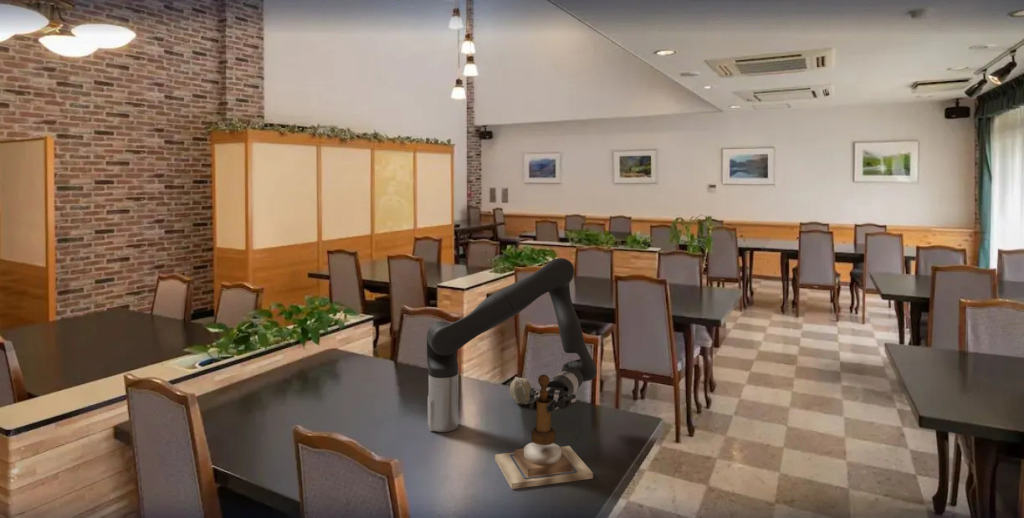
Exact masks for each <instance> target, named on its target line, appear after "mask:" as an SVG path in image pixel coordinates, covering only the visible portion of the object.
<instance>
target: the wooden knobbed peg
mask: <svg viewBox="0 0 1024 518" xmlns="http://www.w3.org/2000/svg"><path fill="white" fill-rule="evenodd" d="M550 380H551V379H550V377H549V375H547V374H540V375H539V376H538V378H537V382H538V384H539V386H540V390H541V391H540V390H539V391H540V397H541V398H538V399H537V408H536V415H535V416H536V419H535V420H536V421H535V423H536V424H535V425H536V426H535V427H534V428H533V429H532V430H531V437H530V439H531V441H532V442H534V443H536V444H539V445H549V444H552V443H554V444H555V442H556V439H557V438H556V436H557V432H556V430H555V429H553V427H552V412H550V413H547V404H548V403H550V402H551V400H550V399H549V398H547V396H548V391H547V390H546V388H547V386H548V384H549V381H550ZM532 442H531V443H532Z"/></svg>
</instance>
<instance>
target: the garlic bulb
mask: <svg viewBox="0 0 1024 518" xmlns="http://www.w3.org/2000/svg"><path fill="white" fill-rule="evenodd" d="M530 388H532V386H531V383H530V381H529V380H528V379H527V378H525V377H519V376H515V377H514V378H513V380H512V381H511V383H510V385H509V393H510V396H511V397H512V398H513V401H514V403H515V404H517V405H528V404H529V393H530ZM529 405H530V404H529Z"/></svg>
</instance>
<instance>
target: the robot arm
mask: <svg viewBox="0 0 1024 518" xmlns="http://www.w3.org/2000/svg"><path fill="white" fill-rule="evenodd" d="M574 275H575V267H574V265H573V263H572V262H571V261H570V260H569V259H566V258H563V257H558V258H553V259H551V260H549V262H548V263H546V264H545V265H544V266H542V267H541V268H539V269H538V270H536V271H535V272H534V273H531V274H530V275H528V276H526V277H524V278H522V279H520V280H518V281H516V282H514V283H511V284H510V285H508V286H505V287H503V288H502V289H500V290H498V291H495V292H494V293H492V294H491V295H489V296H488V297H485V299H483V301H481V302H480V303H479V304H478V305H477V306H476V307H475V308H473V310H472V311H471V312H469V314H467V315H466V316H464V317H462V318H460V319H458V320H456V321H454V322H452V323H450V322H448V321H444V320H439V321H436V322H434V323H432V325H430V327H429V328H428V330H427V333H426V362H427V363H426V364H427V368H428V370H427V371H428V395H427V426H428V429H429V431H430V432H438V433H447V432H451V431H452V432H453V431H454V430H456V429H458V427H459V364H458V360H457V351H458V350H460V349H461V348H462V347H464V346H465V345H466V344H468V343H469V342H470V341H472V340H474V339H475V338H476V337H478V336H480V335H481V334H484V333H485V332H488V331H489V330H491V329H492V328H494V327H496V326H498V325H500V324H502V323H504V322H506V321H508V320H509V319H510V318H513V317H515V316H516V315H518V314H519V313H521V312H522V311H523V310H525V309H526V308H527V307H528V306H530V305H532V303H534V302H535V301H536V300H537V299H539V298H540V297H542V296H543V295H545V294H547V293H549V296H550V299H551V302H552V305H553V309H554V313H555V316H556V317H555V318H556V322H557V326H558V330H559V335H560V340H561V345H562V349H563V351H564V352H565V353H566V354H576V355H578V357H579V359H575V360H571V361H567V362H565V363H564V364H563V365H562V369H561V371H560V372H559V373H557V374H555V376H553V377H552V378H551V379H549V380H550V381H549V384H548V386H547V388H546V390H547V391H548V396H547V398H549V399H550V400H551V402H550V403H548V404H547V413H550V412H551V413H552V412H554V411H555V410H558V408H560V410H565V409H569V408H570V407H572V406H574V405H576V404H577V394H575V393H576V392H577V390H579V388H580V387H581V386H582V384H583V382H584V383H585V382H590V381H593V380H594V379H595V378H596V377H597V373H598V371H597V366H596V363H595V361H594V360H593V357H592V356H591V354H590V352H589V350H588V348H587V345H586V342H585V339H584V338H585V337H584V333H583V329H582V326H581V322H580V320H579V317H578V315H577V312H576V311H575V308H574V305H573V301H572V297H571V288H570V284H571V282H572V281H573V279H574ZM540 391H541V389H540V390H536V389H535V388H534V387H531V388H530V393H529V408H530V410H531V411H535V410H537V399H538V398H541V397H540Z"/></svg>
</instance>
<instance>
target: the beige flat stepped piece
mask: <svg viewBox="0 0 1024 518" xmlns="http://www.w3.org/2000/svg"><path fill="white" fill-rule="evenodd" d="M494 460H495V462H496V463H497V466H498V467H499V470H500V471H501V473H502V475H503V476H504V478H505V480H506V482H507V483H508V485H509V486H510V489H511V490H515V489H524V488H531V487H538V486H545V485H553V484H560V483H568V482H569V483H570V482H576V481H583V480H590V479H594V472H593V471H592V470H591V469H590V468H589V467H588V466H587V464H586V463H585V462H584V461H583V460H582V459H581V457H580V456H579V455H578V454H577V453H576V452H575V450H573V448H572V447H571V446H570V445H565V446H559V445H558V444H557V443H555V442H554V443H552V444H549V445H539V444H536V443H534V442H529V443H528V444H526V445H525V446H524V447H523V448H517V449H514V452H503V453H497V454H494Z"/></svg>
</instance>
